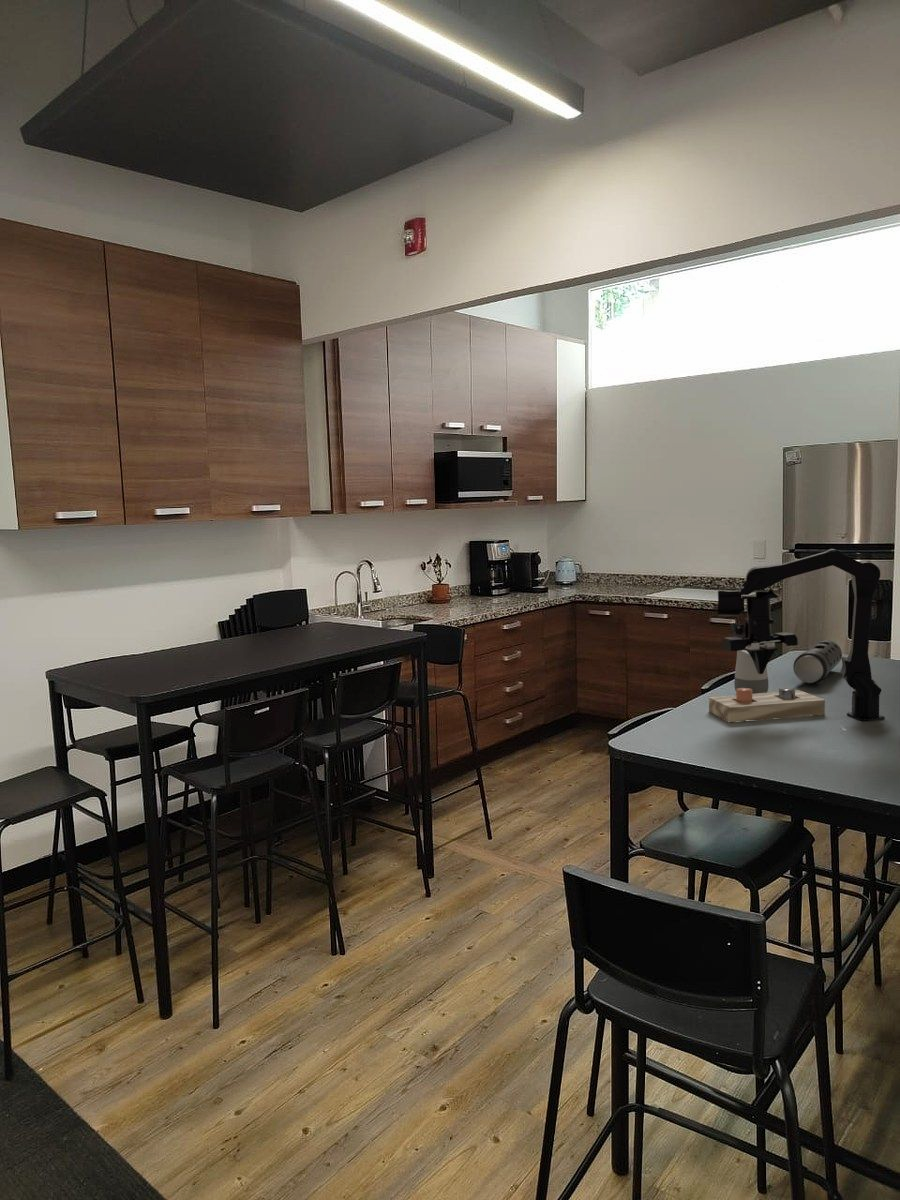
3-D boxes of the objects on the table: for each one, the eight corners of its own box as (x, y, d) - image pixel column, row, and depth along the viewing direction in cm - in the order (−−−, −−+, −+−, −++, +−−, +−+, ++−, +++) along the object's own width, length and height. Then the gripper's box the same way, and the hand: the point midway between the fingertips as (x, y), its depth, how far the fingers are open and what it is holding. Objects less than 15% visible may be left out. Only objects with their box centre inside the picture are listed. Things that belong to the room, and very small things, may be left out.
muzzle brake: (843, 671, 262) (843, 640, 261) (825, 689, 239) (825, 654, 238) (811, 669, 267) (811, 638, 266) (791, 686, 245) (791, 652, 244)
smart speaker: (769, 700, 229) (769, 651, 227) (734, 699, 232) (734, 651, 230) (767, 693, 238) (767, 645, 236) (734, 692, 241) (734, 645, 239)
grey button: (798, 710, 214) (798, 690, 214) (784, 712, 214) (783, 691, 213) (789, 707, 218) (789, 687, 217) (776, 708, 218) (775, 688, 217)
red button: (755, 711, 212) (755, 690, 212) (740, 712, 212) (740, 691, 211) (747, 707, 216) (747, 687, 216) (733, 708, 216) (733, 688, 215)
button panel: (824, 714, 211) (824, 699, 210) (730, 722, 208) (729, 707, 207) (799, 704, 223) (799, 690, 222) (709, 711, 219) (708, 697, 219)
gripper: (775, 609, 221) (777, 665, 223) (711, 614, 219) (712, 671, 220) (798, 613, 210) (800, 672, 212) (730, 619, 208) (732, 679, 210)
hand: (760, 673), depth 214 cm, fingers closed
